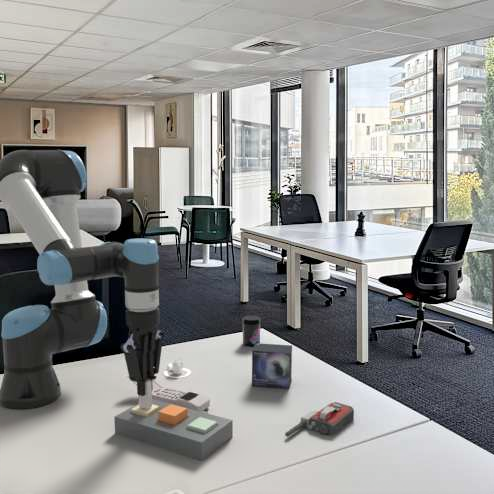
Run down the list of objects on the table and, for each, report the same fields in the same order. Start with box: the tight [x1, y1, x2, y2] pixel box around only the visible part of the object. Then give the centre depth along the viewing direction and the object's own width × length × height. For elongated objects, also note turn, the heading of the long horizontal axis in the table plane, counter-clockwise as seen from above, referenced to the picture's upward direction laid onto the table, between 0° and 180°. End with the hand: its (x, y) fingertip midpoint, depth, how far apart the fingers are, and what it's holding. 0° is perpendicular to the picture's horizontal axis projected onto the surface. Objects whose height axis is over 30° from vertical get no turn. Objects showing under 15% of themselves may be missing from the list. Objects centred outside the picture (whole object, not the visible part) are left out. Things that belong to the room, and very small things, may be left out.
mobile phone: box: [127, 375, 211, 414], centre depth 151 cm, size 6×6×25 cm
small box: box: [251, 342, 293, 390], centre depth 163 cm, size 11×6×10 cm, turn 80°
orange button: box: [158, 404, 187, 425], centre depth 133 cm, size 5×5×4 cm
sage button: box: [188, 417, 217, 434], centre depth 129 cm, size 5×5×4 cm
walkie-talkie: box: [284, 401, 355, 438], centre depth 138 cm, size 9×4×20 cm
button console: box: [114, 399, 234, 461], centre depth 133 cm, size 24×12×4 cm, turn 60°
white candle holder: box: [163, 358, 192, 379], centre depth 172 cm, size 9×8×4 cm
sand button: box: [131, 404, 160, 417], centre depth 137 cm, size 5×5×4 cm
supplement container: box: [242, 315, 261, 347], centre depth 197 cm, size 6×6×9 cm
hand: (145, 406), depth 137 cm, fingers closed
